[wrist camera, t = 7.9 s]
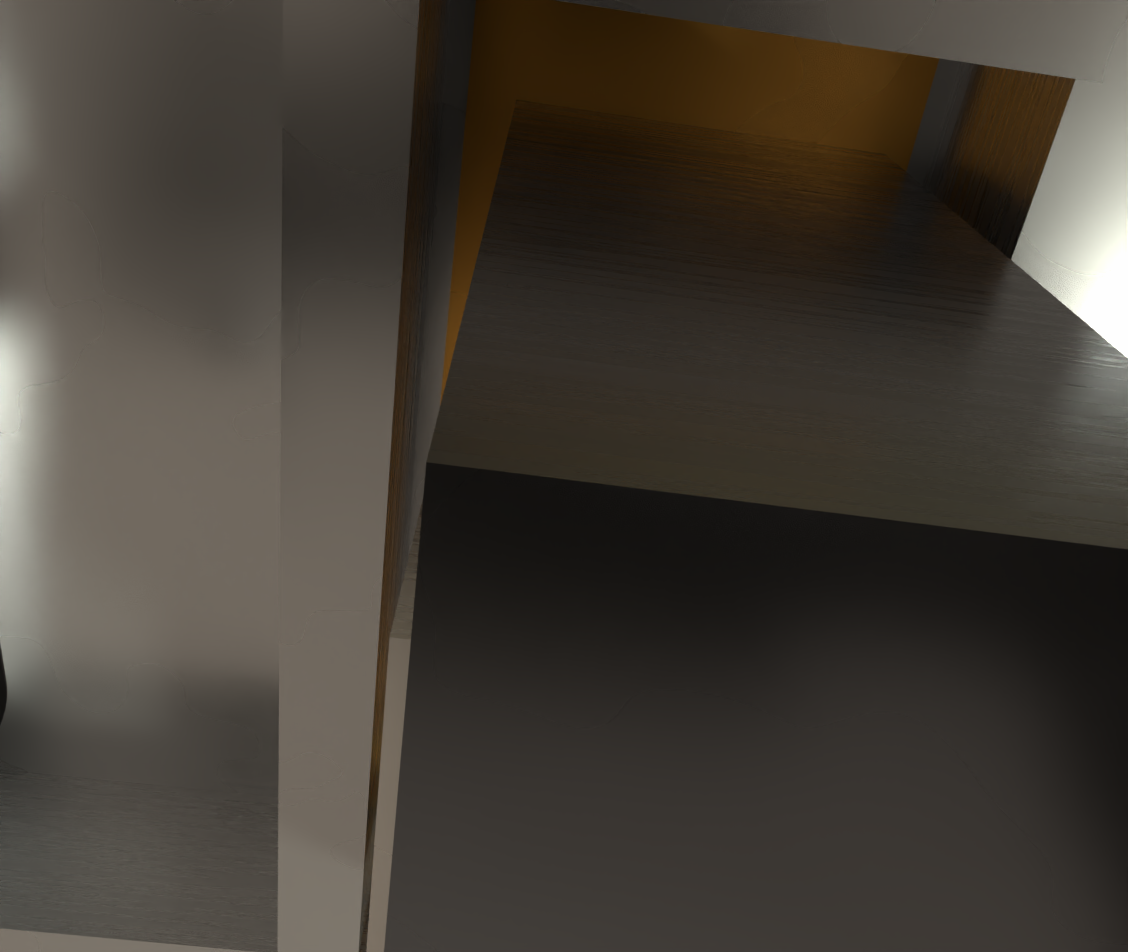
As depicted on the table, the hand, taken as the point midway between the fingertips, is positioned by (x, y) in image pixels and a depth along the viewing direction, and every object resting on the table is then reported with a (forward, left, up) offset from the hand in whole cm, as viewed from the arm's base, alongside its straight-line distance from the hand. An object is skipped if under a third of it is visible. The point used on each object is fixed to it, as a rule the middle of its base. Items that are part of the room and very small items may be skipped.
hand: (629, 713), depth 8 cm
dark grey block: (0, 0, -3) cm, 3 cm away
